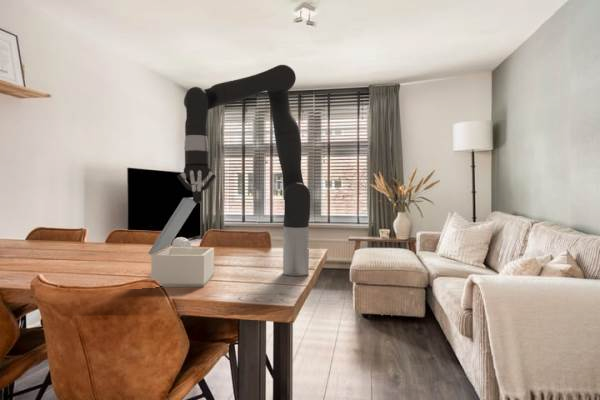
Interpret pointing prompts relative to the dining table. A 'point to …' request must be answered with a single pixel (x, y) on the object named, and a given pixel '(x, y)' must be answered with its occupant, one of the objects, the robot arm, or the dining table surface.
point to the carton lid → (173, 225)
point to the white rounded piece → (181, 243)
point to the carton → (183, 267)
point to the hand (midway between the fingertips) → (197, 203)
